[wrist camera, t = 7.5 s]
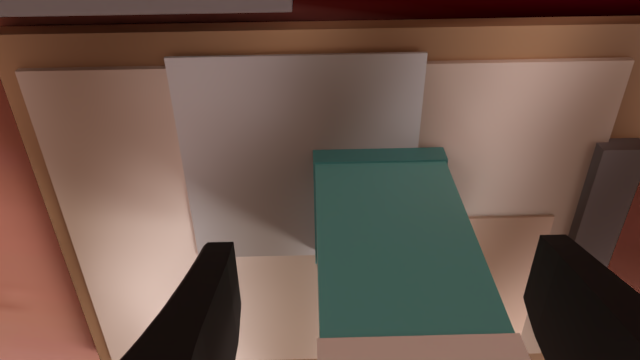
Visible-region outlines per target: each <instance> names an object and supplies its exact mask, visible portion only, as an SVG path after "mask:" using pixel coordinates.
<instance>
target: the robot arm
mask: <svg viewBox="0 0 640 360" xmlns="http://www.w3.org/2000/svg"><path fill="white" fill-rule="evenodd" d="M523 299H524V302H525V306H526V310H527V313H528V317H529V320H530V323H531V326H532V330H533V333H534V336H535V338H536V341H537V343H538V345H539V348H540V350H541V352H542V354H543V357H544V359H545V360H640V294H639V293H638V292H637V291H635V290H634V289H633V288H631V287H630V286H629V285H628V284H626V283H625V282H624V281H623V280H621V279H620V278H619V277H618V276H617V275H615V274H614V273H613V272H612V271H610V270H609V269H608V268H607V267H606V266H604V265H603V264H602V263H601V262H600V261H598V260H597V259H596V258H595V257H593V256H592V255H591V254H590V253H589V252H587V251H586V250H585V249H584V248H583V247H581V246H580V245H579V244H578V243H576V242H575V241H574V240H573V239H571V238H570V237H569V236H567V235H566V234H561V235H540V237H539V240H538V244H537V248H536V251H535V255H534V259H533V263H532V266H531V270H530V274H529V277H528V281H527V285H526V288H525V292H524V296H523ZM240 317H241V297H240V289H239V281H238V273H237V265H236V257H235V249H234V242H207V243H206V244H205V245H204V246H203V248H202V249H201V251H200V253H199V255H198V256H197V258H196V260H195V261H194V263H193V264H192V266H191V268H190V269H189V271H188V272H187V274H186V275H185V277H184V278H183V280H182V281H181V283H180V284H179V286H178V287H177V289H176V290H175V291H174V293H173V294H172V296H171V297H170V298H169V300H168V301H167V303H166V304H165V306H164V307H163V308H162V310H161V311H160V312H159V314H158V315H157V316H156V317H155V319H154V320H153V321H152V322H151V323H150V325H149V326H148V327H147V328H146V330H145V331H144V332H143V333H142V335H141V336H140V337H139V338H138V340H137V341H136V342H135V343H134V344H133V345H132V346H131V348H130V349H129V350H128V351H127V352H126V353H125V354H124V355H123V357H122V358H121V359H120V360H235V359H236V354H237V348H238V342H239V330H240Z"/></svg>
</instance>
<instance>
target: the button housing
mask: <svg viewBox="0 0 640 360" xmlns="http://www.w3.org/2000/svg"><path fill="white" fill-rule="evenodd" d="M292 6H293V0H0V17H34V16H93V15H152V14H210V13H269V12H292Z"/></svg>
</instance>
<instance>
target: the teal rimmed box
mask: <svg viewBox="0 0 640 360" xmlns="http://www.w3.org/2000/svg"><path fill="white" fill-rule="evenodd" d="M313 180H314V223H315V264H317V274H318V313H319V338H317V360H531V359H530V357H529V355H528V352H527V350H526V347H525V345H524V342H523V340H522V338H521V335H520V333H515V331H514V329H513V326H512V324H511V322H510V319H509V317H508V314H507V312H506V309H505V307H504V304H503V302H502V299H501V297H500V294H499V292H498V289H497V287H496V284H495V282H494V279H493V277H492V274H491V272H490V269H489V267H488V264H487V262H486V259H485V257H484V255H483V252H482V250H481V247H480V245H479V242H478V240H477V237H476V235H475V232H474V230H473V227H472V225H471V222H470V220H469V217H468V215H467V212H466V210H465V207H464V205H463V202H462V200H461V197H460V195H459V192H458V190H457V187H456V185H455V183H454V180H453V178H452V175H451V173H450V170H449V168H448V158H447V155H446V153H445V150H444V148H443V147H427V148H381V149H335V150H313Z"/></svg>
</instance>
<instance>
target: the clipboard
mask: <svg viewBox="0 0 640 360" xmlns="http://www.w3.org/2000/svg"><path fill="white" fill-rule="evenodd" d="M0 79H1V82H2V85H3V87H4V90H5V93H6V96H7V99H8V101H9V104H10V107H11V110H12V113H13V116H14V118H15V121H16V124H17V127H18V130H19V132H20V135H21V138H22V141H23V144H24V147H25V149H26V152H27V155H28V158H29V161H30V163H31V166H32V169H33V172H34V175H35V178H36V180H37V183H38V186H39V189H40V192H41V194H42V197H43V200H44V203H45V206H46V209H47V211H48V214H49V217H50V220H51V223H52V225H53V228H54V231H55V234H56V237H57V240H58V242H59V245H60V248H61V251H62V254H63V256H64V259H65V262H66V265H67V268H68V271H69V273H70V276H71V279H72V282H73V285H74V287H75V290H76V293H77V296H78V299H79V302H80V304H81V307H82V310H83V313H84V316H85V318H86V321H87V324H88V327H89V330H90V333H91V335H92V338H93V341H94V344H95V347H96V349H97V352H98V355H99V358H100V360H120V359H121V358H122V357H123V355H124V354H125V353H126V352H127V351H128V350H129V349H130V348H131V346H132V345H133V344H134V343H135V342H136V341H137V340H138V338H139V337H140V336H141V335H142V333H143V332H144V331H145V330H146V328H147V327H148V326H149V325H150V323H151V322H152V321H153V320H154V319H155V317H156V316H157V315H158V314H159V312H160V311H161V310H162V308H163V307H164V306H165V304H166V303H167V301H168V300H169V298H170V297H171V296H172V294H173V293H174V291H175V290H176V289H177V287H178V286H179V284H180V283H181V281H182V280H183V278H184V277H185V275H186V274H187V272H188V271H189V269H190V268H191V266H192V264H193V263H194V261H195V260H196V258H197V256H198V255H199V253H200V251H201V249H202V248H203V246H204V245H205V244H206V243H207V242H234V249H235V257H236V265H237V273H238V281H239V289H240V297H241V317H240V330H239V342H238V348H237V354H236V359H235V360H317V338H319V313H318V274H317V264H315V223H314V180H313V150H335V149H381V148H427V147H443V148H444V150H445V153H446V155H447V158H448V168H449V170H450V173H451V175H452V178H453V180H454V183H455V185H456V187H457V190H458V192H459V195H460V197H461V200H462V202H463V205H464V207H465V210H466V212H467V215H468V217H469V220H470V222H471V225H472V227H473V230H474V232H475V235H476V237H477V240H478V242H479V245H480V247H481V250H482V252H483V255H484V257H485V259H486V262H487V264H488V267H489V269H490V272H491V274H492V277H493V279H494V282H495V284H496V287H497V289H498V292H499V294H500V297H501V299H502V302H503V304H504V307H505V309H506V312H507V314H508V317H509V319H510V322H511V324H512V326H513V329H514V331H515V333H520V335H521V338H522V340H523V342H524V345H525V347H526V350H527V352H528V355H529V357H530V359H531V360H545V359H544V357H543V354H542V352H541V350H540V348H539V345H538V343H537V341H536V338H535V336H534V333H533V330H532V326H531V323H530V320H529V317H528V313H527V310H526V306H525V302H524V299H523V296H524V292H525V288H526V285H527V281H528V277H529V274H530V270H531V266H532V263H533V259H534V255H535V251H536V248H537V244H538V240H539V237H540V235H561V234H566V235H567V236H569V237H570V238H571V239H573V240H574V241H575V242H576V243H578V244H579V245H580V246H581V247H583V248H584V249H585V250H586V251H587V252H589V253H590V254H591V255H592V256H593V257H595V258H596V259H597V260H598V261H600V262H601V263H602V264H603V265H604V266H606V267H608V265H609V262H610V259H611V257H612V254H613V251H614V249H615V246H616V243H617V241H618V238H619V235H620V232H621V230H622V227H623V224H624V222H625V219H626V216H627V214H628V211H629V208H630V206H631V203H632V200H633V198H634V195H635V192H636V190H637V187H638V184H639V182H640V16H585V17H526V18H468V19H410V20H352V21H293V22H235V23H177V24H119V25H61V26H2V27H0Z"/></svg>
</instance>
